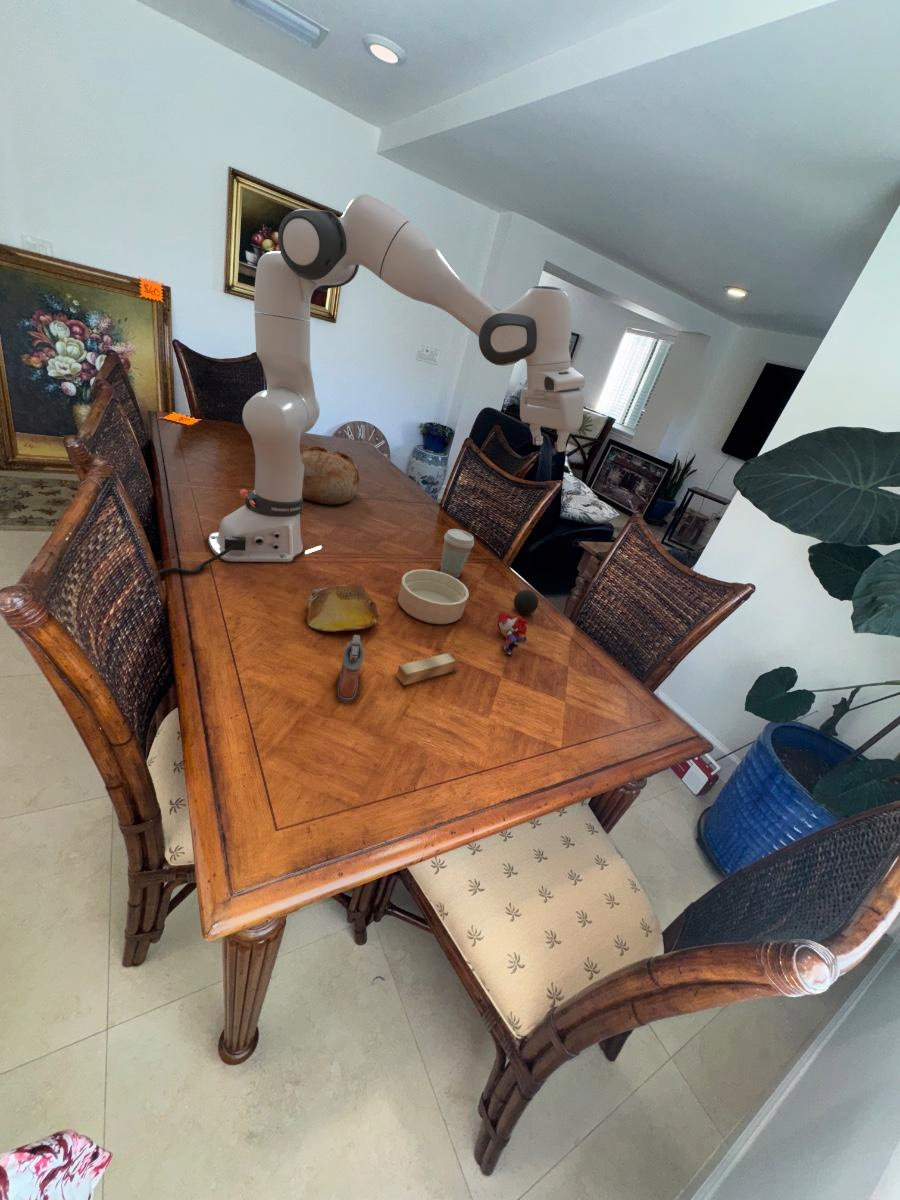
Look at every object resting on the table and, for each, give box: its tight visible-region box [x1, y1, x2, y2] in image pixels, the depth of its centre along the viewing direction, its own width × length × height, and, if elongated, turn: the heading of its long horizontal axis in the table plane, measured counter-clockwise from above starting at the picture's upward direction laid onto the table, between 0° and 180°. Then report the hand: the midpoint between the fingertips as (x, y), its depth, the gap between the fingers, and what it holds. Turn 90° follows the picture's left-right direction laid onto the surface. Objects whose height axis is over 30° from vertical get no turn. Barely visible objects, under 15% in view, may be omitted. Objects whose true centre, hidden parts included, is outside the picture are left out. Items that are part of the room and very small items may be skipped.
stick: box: [396, 652, 456, 686], centre depth 95 cm, size 12×3×3 cm, turn 127°
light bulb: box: [513, 589, 539, 615], centre depth 128 cm, size 6×6×10 cm
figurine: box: [496, 612, 530, 658], centre depth 112 cm, size 6×8×15 cm
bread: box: [300, 445, 361, 506], centre depth 164 cm, size 26×23×15 cm
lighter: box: [337, 634, 365, 704], centre depth 84 cm, size 8×3×10 cm, turn 5°
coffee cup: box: [439, 528, 475, 579], centre depth 135 cm, size 9×8×12 cm
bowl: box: [397, 568, 470, 625], centre depth 117 cm, size 16×16×6 cm
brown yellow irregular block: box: [306, 583, 380, 633], centre depth 104 cm, size 17×8×15 cm
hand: (548, 447), depth 106 cm, fingers open, 8 cm apart
